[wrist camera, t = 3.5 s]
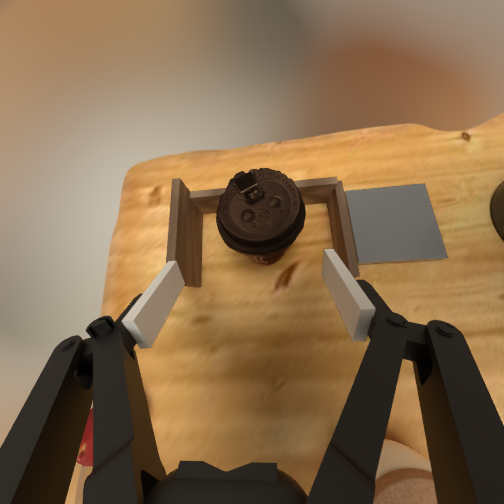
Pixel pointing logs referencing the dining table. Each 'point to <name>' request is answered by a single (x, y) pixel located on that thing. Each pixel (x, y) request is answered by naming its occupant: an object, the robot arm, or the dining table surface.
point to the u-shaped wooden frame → (206, 201)
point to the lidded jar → (403, 476)
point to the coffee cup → (260, 214)
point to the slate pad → (394, 225)
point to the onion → (87, 443)
